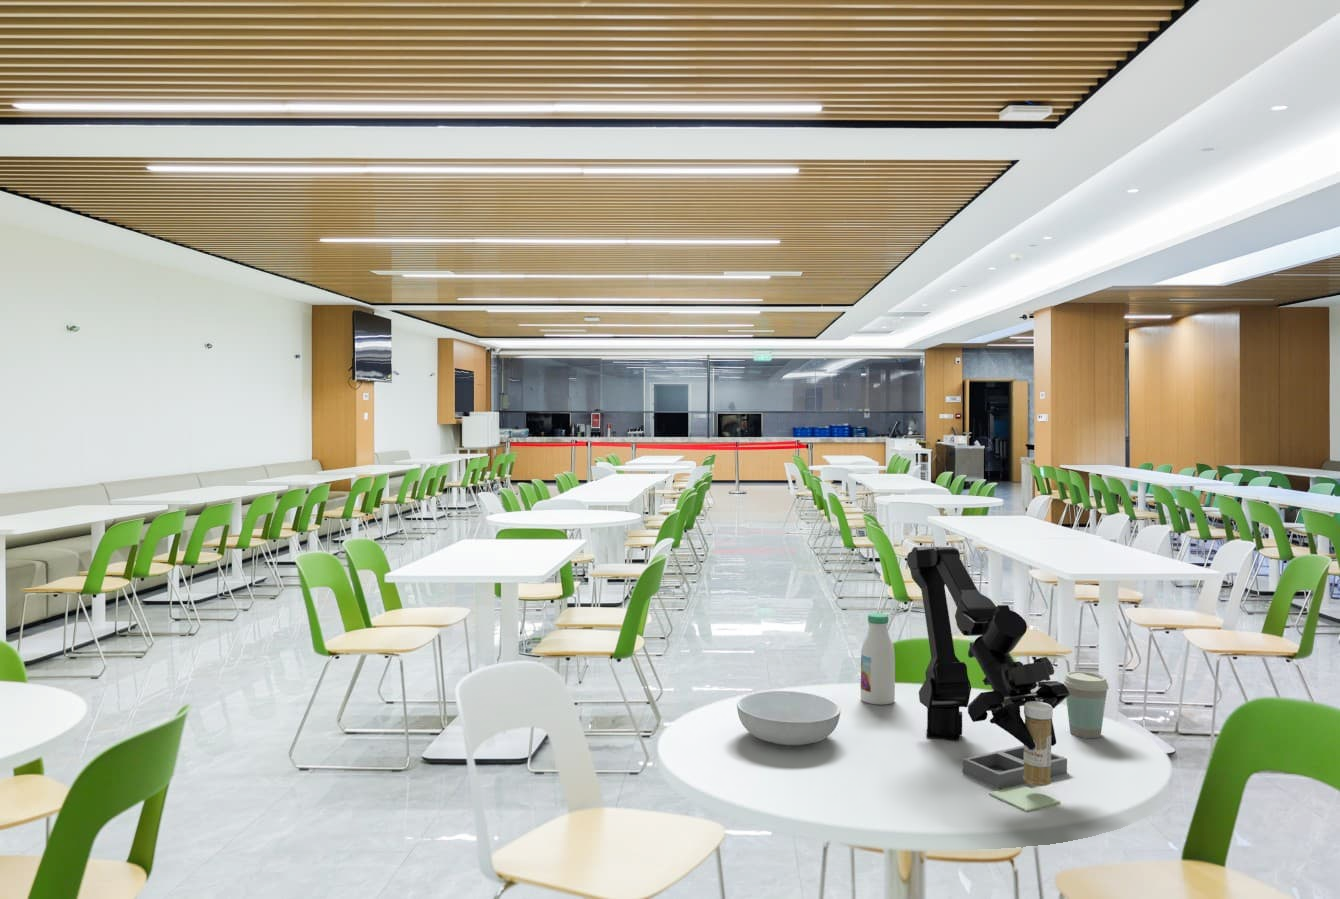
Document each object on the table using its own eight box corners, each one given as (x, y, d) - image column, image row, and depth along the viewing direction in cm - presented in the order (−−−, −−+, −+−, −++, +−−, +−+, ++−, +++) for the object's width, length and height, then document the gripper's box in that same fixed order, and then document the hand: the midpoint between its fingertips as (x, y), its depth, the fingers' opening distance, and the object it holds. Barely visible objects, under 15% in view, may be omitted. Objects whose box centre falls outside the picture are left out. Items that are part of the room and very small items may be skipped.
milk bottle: (896, 697, 213) (896, 612, 212) (892, 707, 205) (893, 619, 205) (862, 694, 215) (863, 610, 215) (858, 703, 208) (859, 616, 208)
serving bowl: (793, 765, 170) (793, 728, 170) (715, 736, 185) (715, 703, 185) (861, 740, 183) (861, 706, 183) (783, 715, 199) (783, 684, 199)
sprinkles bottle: (1019, 782, 155) (1020, 704, 155) (1028, 774, 159) (1029, 698, 159) (1046, 789, 152) (1047, 710, 152) (1055, 781, 156) (1056, 703, 156)
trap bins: (1029, 757, 174) (1029, 744, 174) (1066, 772, 166) (1067, 758, 166) (962, 772, 166) (962, 758, 166) (998, 788, 158) (999, 774, 158)
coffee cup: (1113, 742, 182) (1114, 683, 182) (1068, 739, 184) (1068, 680, 184) (1101, 728, 191) (1102, 671, 191) (1058, 725, 193) (1059, 669, 192)
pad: (1022, 786, 160) (1022, 784, 160) (1060, 802, 152) (1060, 801, 152) (989, 794, 156) (989, 792, 156) (1026, 811, 149) (1026, 810, 149)
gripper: (980, 646, 155) (1027, 730, 145) (1062, 637, 162) (1112, 716, 152) (948, 680, 163) (991, 762, 153) (1028, 669, 170) (1074, 747, 160)
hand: (1043, 746), depth 154 cm, fingers closed on sprinkles bottle, 4 cm apart
